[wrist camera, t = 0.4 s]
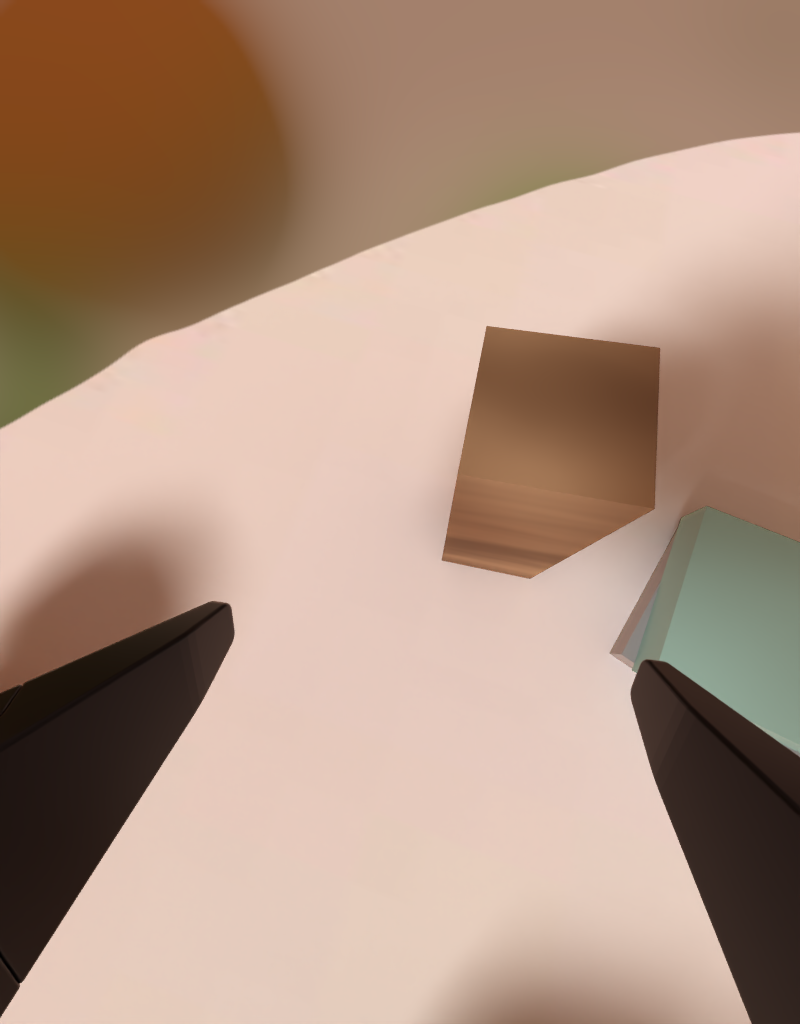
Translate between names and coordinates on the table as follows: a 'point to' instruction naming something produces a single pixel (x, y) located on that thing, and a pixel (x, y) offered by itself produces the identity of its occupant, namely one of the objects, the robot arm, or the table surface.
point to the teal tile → (733, 618)
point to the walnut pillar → (553, 449)
